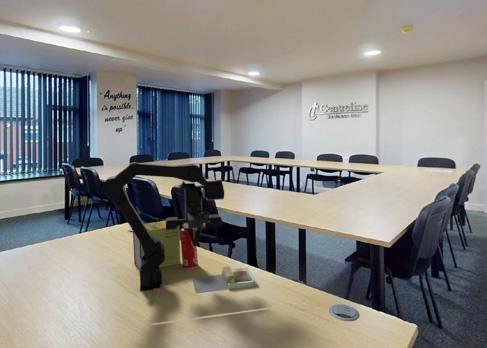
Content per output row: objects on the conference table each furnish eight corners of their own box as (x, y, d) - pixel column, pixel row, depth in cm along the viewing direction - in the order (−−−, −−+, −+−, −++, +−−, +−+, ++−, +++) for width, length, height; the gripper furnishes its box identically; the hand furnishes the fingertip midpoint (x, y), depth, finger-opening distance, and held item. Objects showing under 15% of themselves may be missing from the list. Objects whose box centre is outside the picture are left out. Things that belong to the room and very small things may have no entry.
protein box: (181, 263, 130) (180, 225, 129) (142, 273, 122) (140, 231, 120) (171, 255, 139) (169, 219, 137) (133, 264, 130) (131, 225, 129)
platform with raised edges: (195, 294, 105) (195, 288, 105) (192, 278, 116) (192, 273, 116) (256, 287, 110) (256, 281, 109) (247, 272, 121) (247, 267, 121)
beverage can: (195, 270, 123) (194, 231, 122) (178, 269, 125) (177, 230, 123) (200, 264, 129) (199, 226, 128) (184, 263, 131) (183, 226, 129)
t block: (227, 286, 109) (227, 276, 109) (222, 276, 117) (222, 267, 117) (249, 284, 111) (248, 273, 110) (243, 274, 119) (243, 264, 118)
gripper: (165, 207, 103) (167, 256, 104) (224, 204, 107) (225, 251, 109) (164, 201, 113) (166, 245, 115) (219, 198, 118) (219, 241, 119)
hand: (194, 246), depth 114 cm, fingers closed
